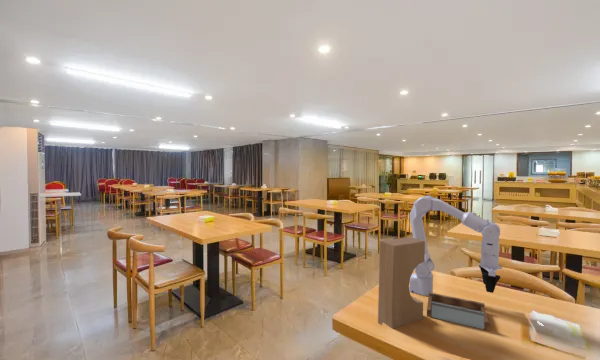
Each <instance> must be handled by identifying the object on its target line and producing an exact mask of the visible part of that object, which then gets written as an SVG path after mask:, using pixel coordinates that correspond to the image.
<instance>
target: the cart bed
mask: <svg viewBox="0 0 600 360" xmlns="http://www.w3.org/2000/svg"><path fill="white" fill-rule="evenodd" d="M427 297H428V298H427V299H428V300H427V306H426V317H429V318H431V317H432V301H433V302H438V303H443V304H448V305H452V306H457V307H462V308H467V309H472V310H476V311H481V312H484V327H483V330H484V331H487V332H489V331H490V321H489V318H488V314H487V311H486V308H485V306H486V304H485V302H481V301H475V300H471V299H470V300H469V299H464V298H459V297H455V296H449V295H446V294H445V295H444V294H441V293H440V294H439V293H435V292H433V293H430V292H429V296H427Z"/></svg>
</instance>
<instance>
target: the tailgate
mask: <svg viewBox="0 0 600 360" xmlns="http://www.w3.org/2000/svg"><path fill="white" fill-rule="evenodd" d="M431 318H433V319H438V320H442V321H446V322H450V323H454V324H459V325H460V324H461V325H463V326H468V327H472V328H476V329H481V330H484V328H483V327H484V312H481V311H476V310H472V309H467V308H462V307H457V306H452V305H448V304H443V303H438V302H433V301H432V316H431Z"/></svg>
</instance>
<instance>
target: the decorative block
mask: <svg viewBox="0 0 600 360" xmlns="http://www.w3.org/2000/svg"><path fill="white" fill-rule="evenodd" d="M378 253H379V254H378V255H379V260H378V298H377V299H378V304H377V309H378V310H377V323H378V324H379V325H380V326H383V324H385V325H386V326H387V327H389V328H391V329H392V330H394V329H397V328H401V327H403V326H406V325H409V324H411V323H412V324H413V323H415V322H418V321H421V320H423V319H424V318H423V317H424V302H423V301H422V300H420V299H417V298H416V297H414V296H412V295H411V292H410V290H409V286H410V277H411V275H412V273H414V272H415V271H414V269H415V268H416V267H417V266H418V265H419V264H420V263H422V262H424V260H425V241H423V240H419V239H416V238H413V236H412V237H411V236H408V237H400V238H393V239H392V238H391V239H386V240H380V241H379V252H378Z"/></svg>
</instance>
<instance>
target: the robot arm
mask: <svg viewBox="0 0 600 360" xmlns="http://www.w3.org/2000/svg"><path fill="white" fill-rule="evenodd" d="M431 210H432V212H433V211H441V212H442V213H445V214H447V215H449V216H452V217H454V218H456V219H458V220H460V222H461V224H462V225H463V226H465V227H467V228H469V229H471V230H473V231H475V232H477V233H481V235H482V237H481V238H482V240H481V246H480V247H481V249H480V250H481V251H480V263H479V265H478V267H479V269H480V272H481V275H482V276H481V278H482V283H483V285H484V286H485V290H486V292H487V293H492V294H494V292H495V289H496V286H497V283H498V282H499V281H500V279H501V276H500V275H497V271H498V270H502V269H503V267H502V266H501V265H499V263H500V262H499V258H500V235H501V228H500V226H499V225H498V224H497V223H496V222H494V221H490V220H489V219H486V218H483V217H480V216H478V215H477V213H476V212H474V211H473V212H471V211H467V212H464V211H462V210H460V209H458V208H457V207H455V206H452V205H451V204H449V203H448V202H445V201H444V200H441V199H439V198H437V197H434V196H432V195H425V196H422V197H419V198H418V199H416V200H415V201H414V202H413V206H412V208H411V210H410V212H409V220H410V227H411V233H412V238H416V239H419V240H423V241H425V260H424V262H422V263H420V264H419V265H418V266H417V267H416V268H415V269H414V271H413V273H412V275H411V277H410V283H409V290H410V293H413V294H417V295H420V296H425V297H429V292H430V293H434V288H433V287H434V275H433V271H434V269H435V264H434V262H433V260H432V257H431V254H430V253H429V249H428V244H427V237H426V232H425V228H424V221H423V217H425V215H426V214H427V213H428V212H430V211H431Z"/></svg>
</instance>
